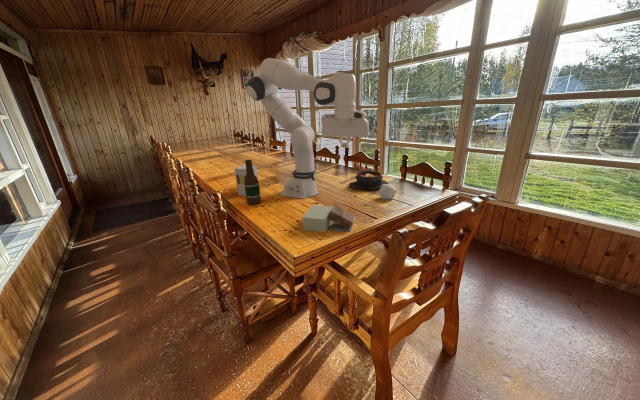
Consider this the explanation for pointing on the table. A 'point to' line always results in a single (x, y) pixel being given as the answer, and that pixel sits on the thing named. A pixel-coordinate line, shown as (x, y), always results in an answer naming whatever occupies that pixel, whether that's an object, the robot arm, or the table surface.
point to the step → (317, 218)
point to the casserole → (368, 180)
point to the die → (387, 191)
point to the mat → (339, 227)
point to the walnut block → (341, 217)
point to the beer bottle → (251, 185)
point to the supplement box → (242, 178)
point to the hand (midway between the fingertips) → (344, 147)
